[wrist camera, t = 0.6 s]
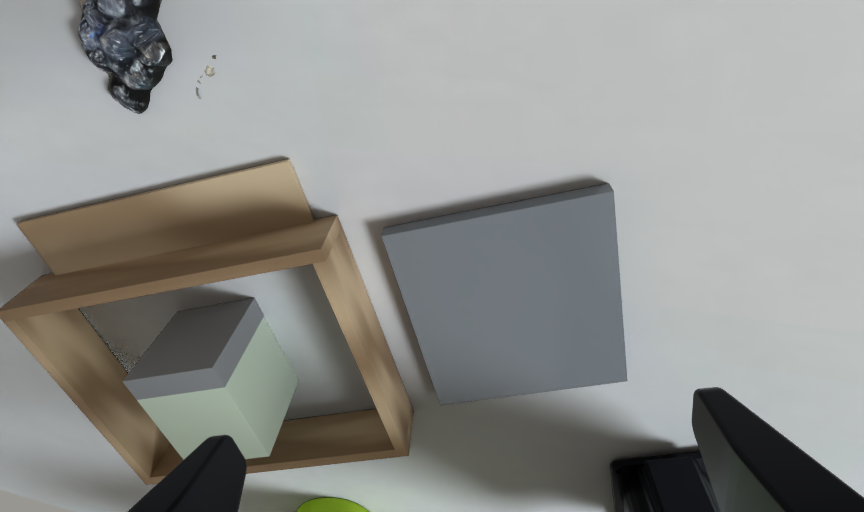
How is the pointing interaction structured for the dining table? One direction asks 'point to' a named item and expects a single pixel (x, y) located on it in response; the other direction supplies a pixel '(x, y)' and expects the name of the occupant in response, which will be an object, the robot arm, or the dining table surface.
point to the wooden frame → (191, 266)
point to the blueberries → (127, 47)
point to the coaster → (515, 295)
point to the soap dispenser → (330, 506)
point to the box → (216, 379)
